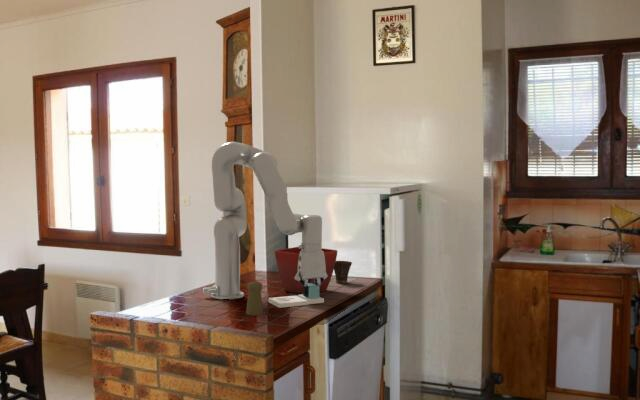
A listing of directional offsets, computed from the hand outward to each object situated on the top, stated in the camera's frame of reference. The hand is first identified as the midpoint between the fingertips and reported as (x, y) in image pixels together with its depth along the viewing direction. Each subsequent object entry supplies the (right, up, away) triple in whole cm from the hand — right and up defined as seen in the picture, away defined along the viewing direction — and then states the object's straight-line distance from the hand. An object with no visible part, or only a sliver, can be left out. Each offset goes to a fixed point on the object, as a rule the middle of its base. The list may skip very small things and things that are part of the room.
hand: (310, 295), depth 223 cm
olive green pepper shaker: (-19, -3, -20) cm, 28 cm away
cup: (+13, -1, +37) cm, 39 cm away
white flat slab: (-8, -2, -4) cm, 10 cm away
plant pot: (-2, -1, +19) cm, 19 cm away
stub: (0, -2, 0) cm, 2 cm away
